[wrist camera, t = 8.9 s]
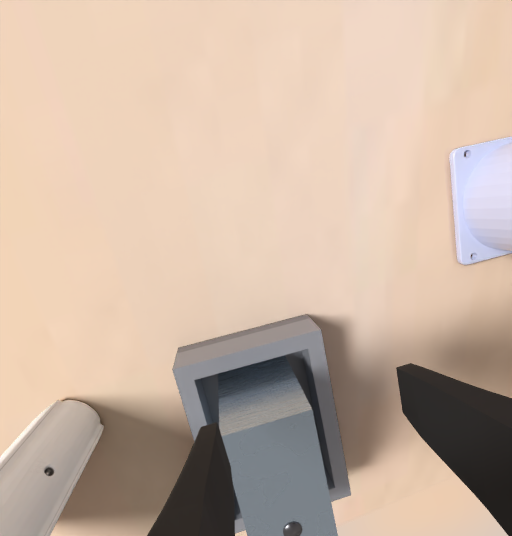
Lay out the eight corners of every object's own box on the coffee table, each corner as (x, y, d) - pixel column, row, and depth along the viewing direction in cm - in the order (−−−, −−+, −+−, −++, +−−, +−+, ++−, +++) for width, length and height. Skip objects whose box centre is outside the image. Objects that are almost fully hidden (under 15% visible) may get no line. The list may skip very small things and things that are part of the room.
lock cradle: (306, 314, 20) (321, 329, 18) (334, 461, 23) (351, 495, 20) (178, 348, 20) (172, 369, 17) (222, 497, 22) (223, 537, 19)
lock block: (283, 352, 20) (312, 410, 14) (304, 450, 21) (338, 539, 16) (217, 369, 19) (219, 437, 13) (244, 468, 21) (256, 567, 15)
